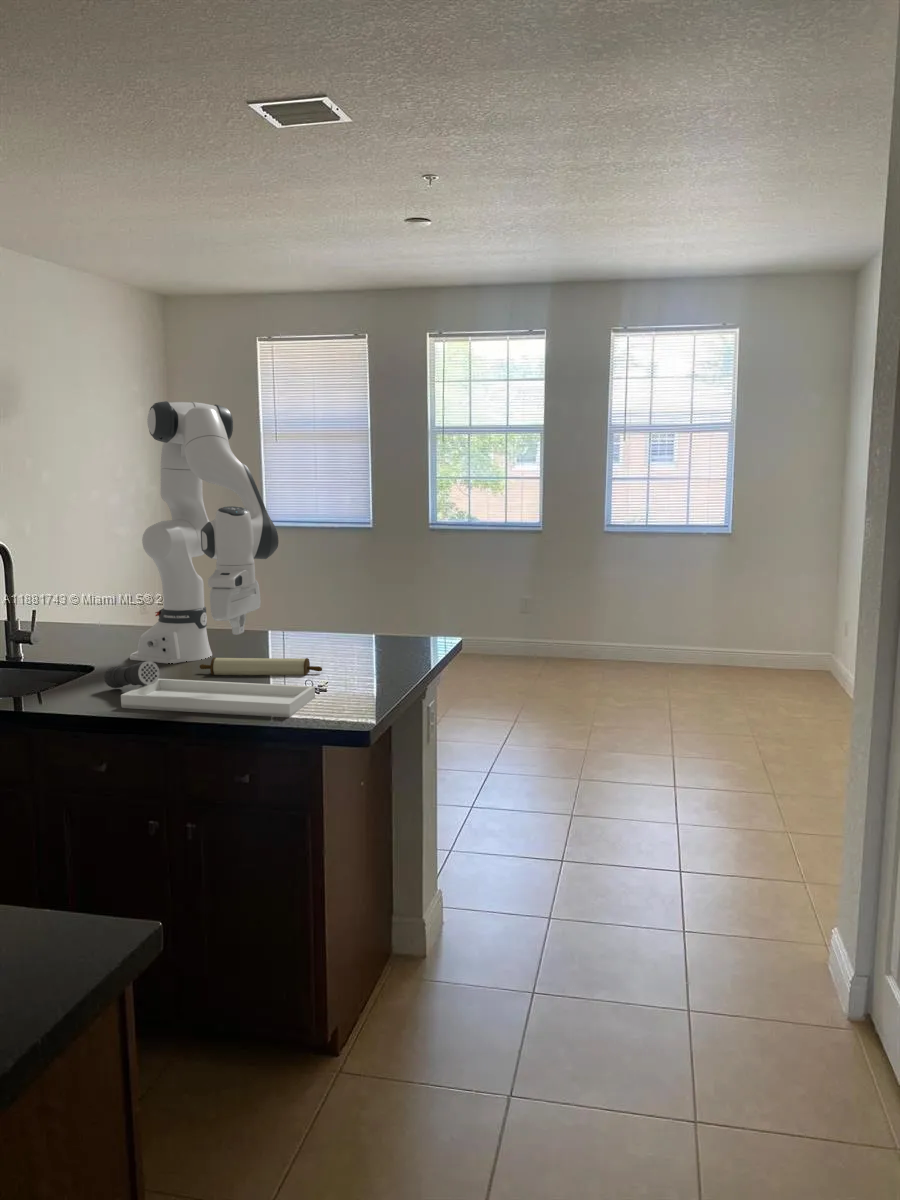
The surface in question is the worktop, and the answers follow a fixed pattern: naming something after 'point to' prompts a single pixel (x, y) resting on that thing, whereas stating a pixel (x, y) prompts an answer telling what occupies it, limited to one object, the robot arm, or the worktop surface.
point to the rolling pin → (260, 666)
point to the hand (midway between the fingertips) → (238, 633)
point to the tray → (219, 697)
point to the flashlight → (132, 675)
